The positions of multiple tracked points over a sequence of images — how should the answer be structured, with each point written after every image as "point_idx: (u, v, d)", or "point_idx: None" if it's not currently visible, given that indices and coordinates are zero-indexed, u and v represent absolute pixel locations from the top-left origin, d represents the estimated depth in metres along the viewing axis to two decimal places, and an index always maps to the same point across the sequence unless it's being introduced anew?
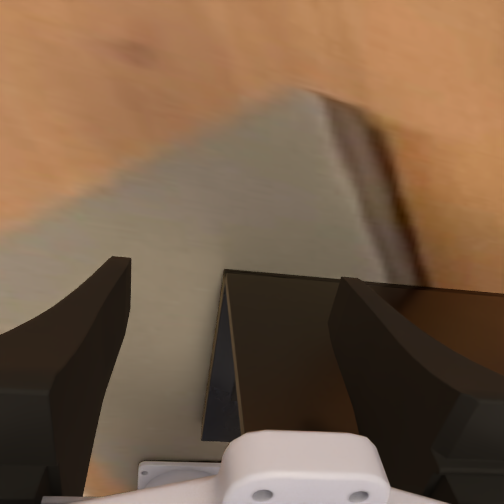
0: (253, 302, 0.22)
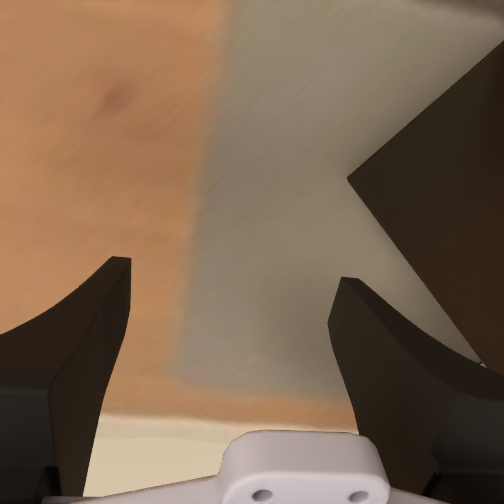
0: (392, 193, 0.19)
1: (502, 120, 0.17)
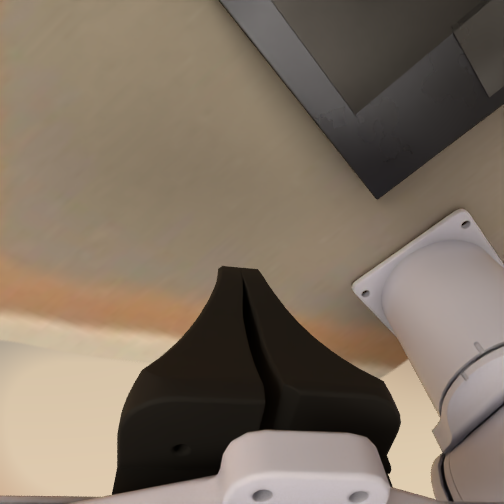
0: None
1: None
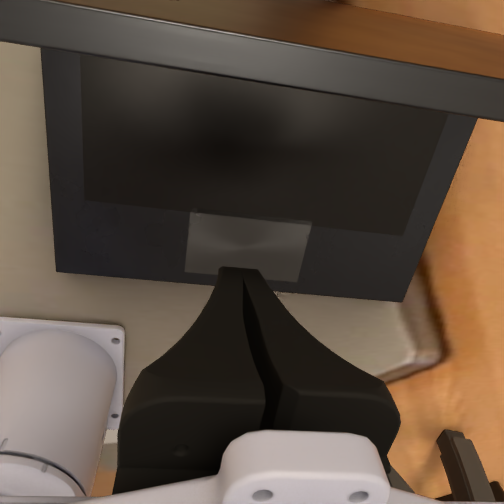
0: None
1: None
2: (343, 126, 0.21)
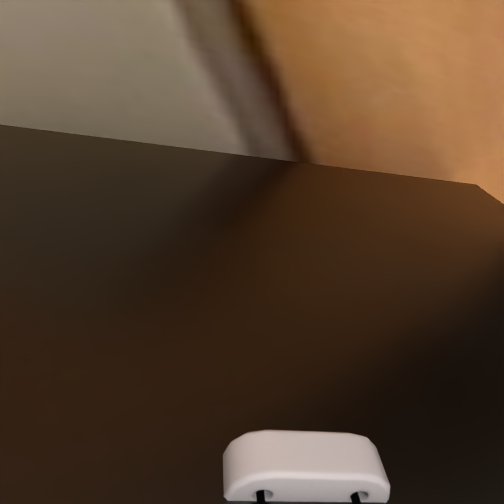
0: None
1: (112, 183, 0.13)
2: None
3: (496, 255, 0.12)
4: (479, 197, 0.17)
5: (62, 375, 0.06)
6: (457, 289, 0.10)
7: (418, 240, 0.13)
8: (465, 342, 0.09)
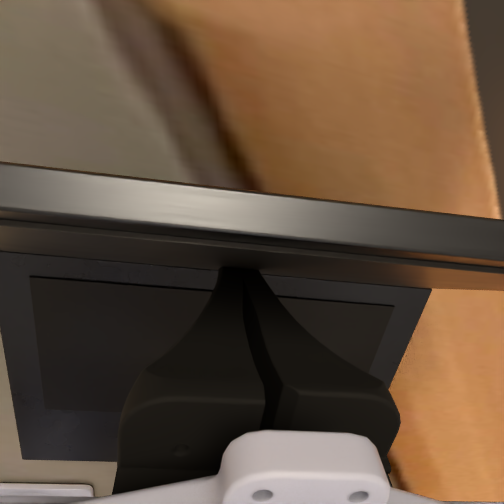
0: None
1: None
2: None
3: None
4: None
5: None
6: None
7: None
8: None
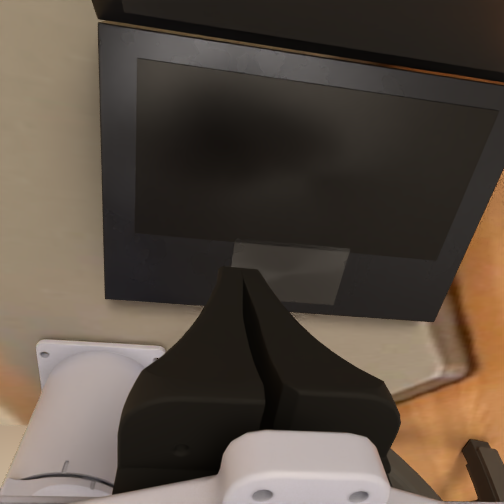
0: None
1: None
2: (383, 160, 0.22)
3: None
4: None
5: None
6: None
7: None
8: None
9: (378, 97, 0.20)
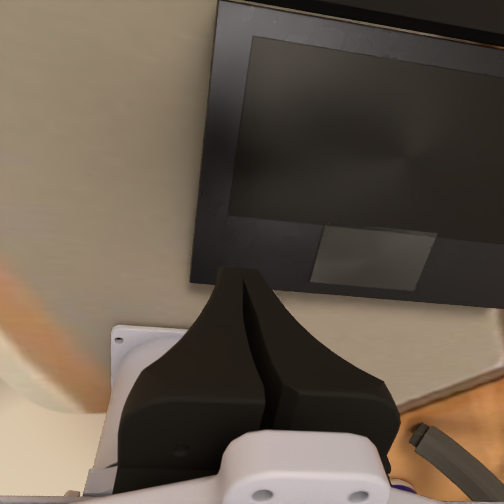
0: None
1: None
2: (480, 143, 0.22)
3: None
4: None
5: None
6: None
7: None
8: None
9: (483, 79, 0.20)
